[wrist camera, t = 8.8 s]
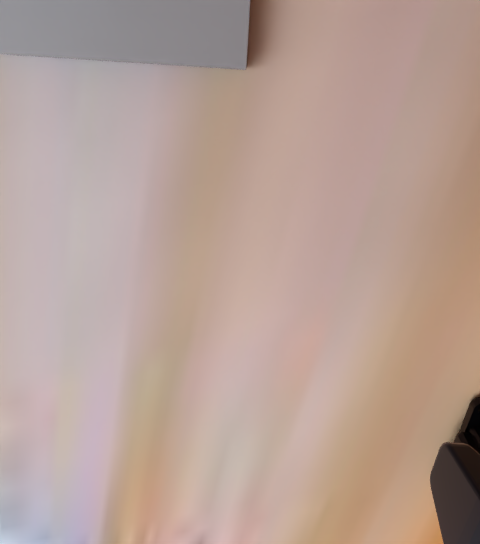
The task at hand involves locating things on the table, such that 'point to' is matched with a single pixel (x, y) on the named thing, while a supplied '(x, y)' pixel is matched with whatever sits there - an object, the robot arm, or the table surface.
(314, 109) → the table surface
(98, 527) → the table surface
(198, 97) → the table surface
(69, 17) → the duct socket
